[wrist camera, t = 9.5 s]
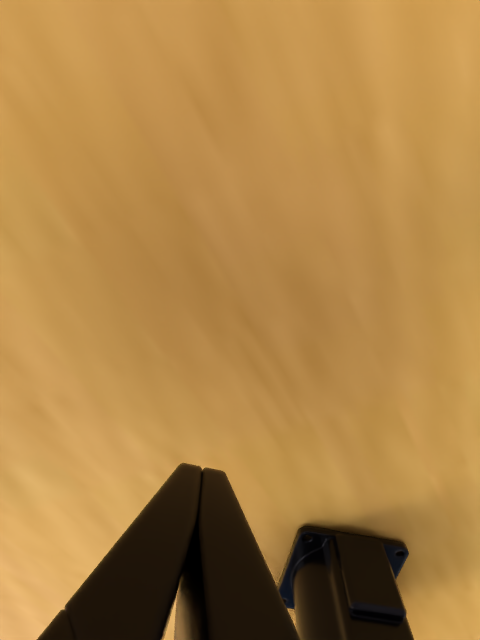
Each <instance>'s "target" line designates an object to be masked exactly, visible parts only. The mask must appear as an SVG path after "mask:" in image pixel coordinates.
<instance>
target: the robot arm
mask: <svg viewBox="0 0 480 640" xmlns="http://www.w3.org/2000/svg"><path fill="white" fill-rule="evenodd" d="M306 535H308V536H306ZM408 554H409V552H408V549H407V547H406V545H405V544H404V543H402V542H398V541H392V540H387V539H381V538H375V537H369V536H363V535H357V534H351V533H346V532H340V531H334V530H328V529H322V528H316V527H311V526H304V527H302V528H300V529H299V530H298V533H297V535H296V538H295V541H294V543H293V546H292V549H291V552H290V554H289V557H288V560H287V562H286V565H285V568H284V570H283V573H282V576H281V578H280V581H279V584H278V586H276V584H275V582H274V579H273V577H272V575H271V573H270V571H269V568H268V566H267V564H266V562H265V560H264V557H263V555H262V553H261V551H260V549H259V546H258V544H257V542H256V540H255V538H254V535H253V533H252V531H251V529H250V527H249V524H248V522H247V520H246V518H245V515H244V513H243V511H242V509H241V507H240V504H239V502H238V500H237V498H236V496H235V493H234V491H233V489H232V487H231V485H230V482H229V480H228V478H227V476H226V474H225V472H223V471H221V470H216V469H211V468H204V469H203V470H202V468H201V467H200V466H196V465H191V464H186V463H182V464H180V465H179V466H178V467H177V468H176V470H175V471H174V472H173V473H172V475H171V476H170V477H169V478H168V479H167V481H166V482H165V483H164V484H163V486H162V487H161V488H160V489H159V491H158V492H157V493H156V494H155V495H154V497H153V498H152V499H151V500H150V502H149V503H148V504H147V505H146V507H145V508H144V509H143V510H142V511H141V513H140V514H139V515H138V516H137V518H136V519H135V520H134V521H133V523H132V524H131V525H130V526H129V527H128V529H127V530H126V531H125V532H124V534H123V535H122V536H121V537H120V539H119V540H118V541H117V542H116V543H115V545H114V546H113V547H112V548H111V550H110V551H109V552H108V553H107V555H106V556H105V557H104V558H103V559H102V561H101V562H100V563H99V564H98V566H97V567H96V568H95V569H94V571H93V572H92V573H91V574H90V575H89V577H88V578H87V579H86V580H85V582H84V583H83V584H82V585H81V587H80V588H79V589H78V590H77V591H76V593H75V594H74V595H73V596H72V598H71V599H70V600H69V601H68V603H67V604H66V605H65V609H64V610H61V611H60V612H59V613H58V614H57V616H56V617H55V618H54V619H53V621H52V622H51V623H50V624H49V626H48V627H47V628H46V629H45V630H44V632H43V633H42V634H41V635H40V636H39V638H38V639H37V640H164V636H165V633H166V629H167V626H168V623H169V619H170V616H171V612H172V609H173V605H174V602H175V598H176V594H177V591H178V594H177V603H176V616H175V631H174V640H414V638H413V635H412V632H411V629H410V626H409V623H408V620H407V617H406V609H405V606H404V603H403V600H402V597H401V594H400V591H399V589H398V586H397V583H396V578H397V576H398V574H399V572H400V570H401V568H402V566H403V564H404V563H405V561H406V559H407V557H408ZM287 608H292V609H294V610H295V619H296V628H297V630H296V628H295V626H294V624H293V621H292V619H291V617H290V615H289V613H288V610H287Z"/></svg>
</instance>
